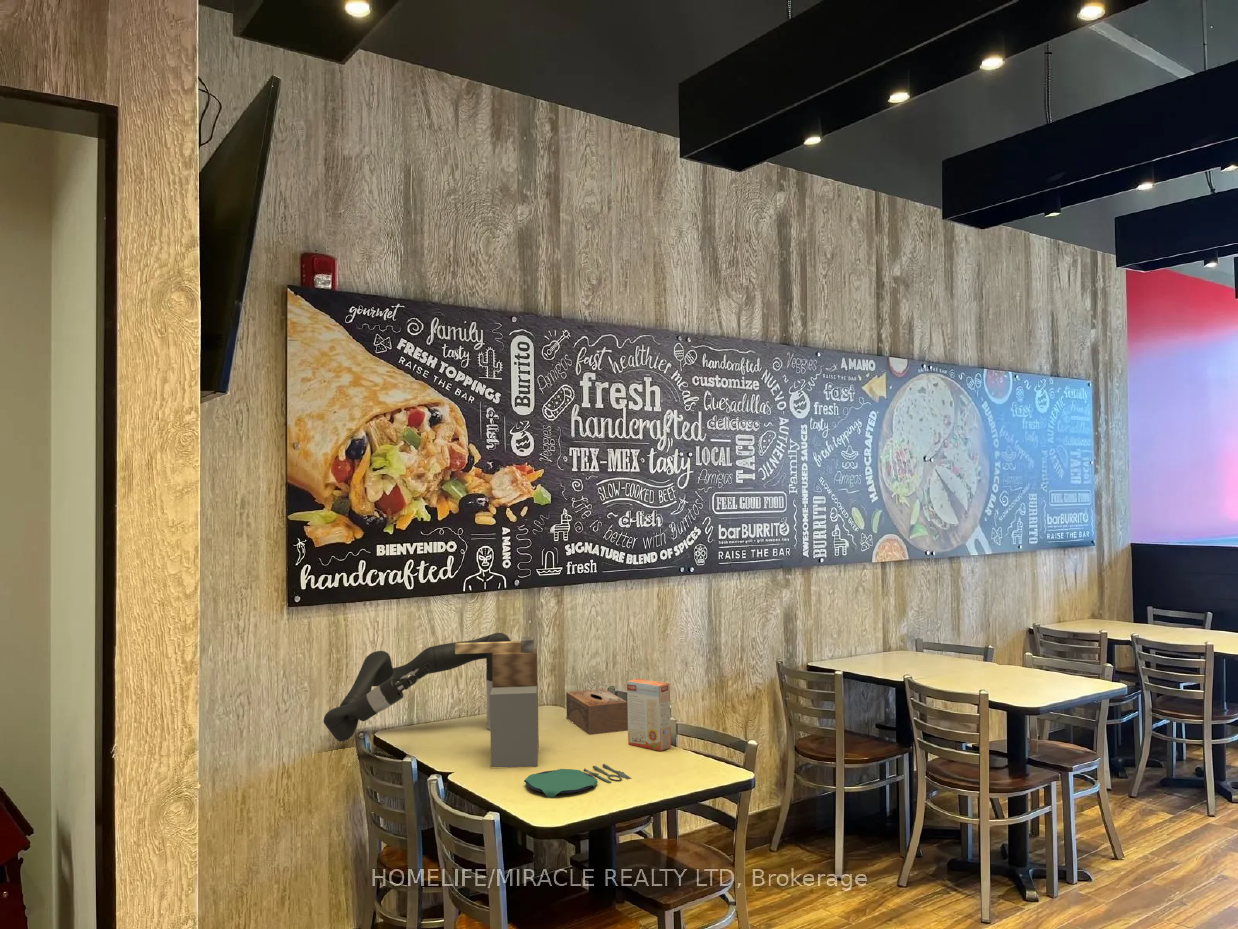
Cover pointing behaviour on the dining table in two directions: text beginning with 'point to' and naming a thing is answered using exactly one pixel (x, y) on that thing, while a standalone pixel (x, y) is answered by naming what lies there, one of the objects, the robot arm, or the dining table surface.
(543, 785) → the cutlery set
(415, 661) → the robot arm
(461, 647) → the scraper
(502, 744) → the grey tall block
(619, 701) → the tissue box cover
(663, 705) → the cracker box
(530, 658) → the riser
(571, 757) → the dining table surface
